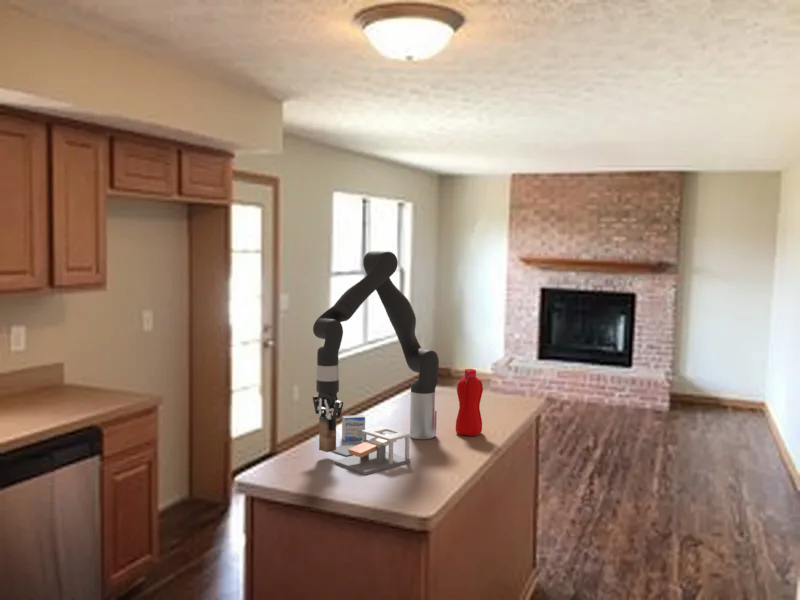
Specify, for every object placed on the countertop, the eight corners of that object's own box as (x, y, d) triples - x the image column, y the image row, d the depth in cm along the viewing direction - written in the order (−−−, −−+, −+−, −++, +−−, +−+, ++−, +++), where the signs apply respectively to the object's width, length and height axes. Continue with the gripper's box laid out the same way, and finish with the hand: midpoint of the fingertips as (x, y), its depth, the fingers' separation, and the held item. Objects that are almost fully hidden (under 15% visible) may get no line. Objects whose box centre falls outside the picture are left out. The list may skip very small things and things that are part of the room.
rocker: (384, 437, 242) (384, 433, 242) (396, 441, 238) (396, 436, 238) (348, 453, 232) (348, 449, 231) (361, 457, 227) (360, 453, 227)
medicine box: (343, 441, 260) (344, 418, 260) (341, 438, 264) (342, 415, 264) (365, 440, 262) (365, 417, 262) (362, 437, 267) (362, 414, 266)
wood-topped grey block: (328, 447, 242) (328, 415, 241) (336, 449, 239) (336, 417, 238) (319, 449, 239) (319, 417, 238) (326, 452, 237) (326, 419, 236)
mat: (349, 445, 256) (349, 443, 256) (368, 451, 249) (368, 449, 248) (327, 450, 249) (327, 448, 249) (346, 456, 242) (346, 455, 242)
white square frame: (379, 452, 247) (379, 425, 247) (410, 462, 237) (410, 434, 236) (334, 463, 233) (334, 435, 233) (365, 474, 223) (365, 445, 222)
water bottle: (451, 435, 271) (452, 370, 269) (462, 429, 281) (463, 366, 279) (473, 439, 267) (475, 372, 265) (484, 432, 276) (486, 368, 274)
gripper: (350, 379, 235) (350, 430, 236) (323, 373, 245) (323, 422, 246) (332, 382, 230) (332, 435, 231) (305, 376, 240) (305, 426, 241)
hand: (327, 428), depth 239 cm, fingers closed on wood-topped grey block, 4 cm apart
